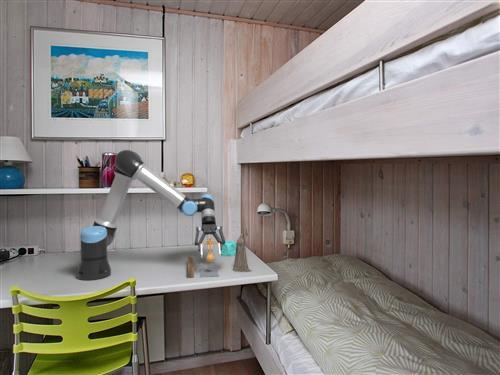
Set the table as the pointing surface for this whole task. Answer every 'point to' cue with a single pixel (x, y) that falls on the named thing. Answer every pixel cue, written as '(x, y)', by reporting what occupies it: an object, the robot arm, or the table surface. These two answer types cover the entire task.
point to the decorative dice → (228, 248)
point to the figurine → (210, 257)
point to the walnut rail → (190, 267)
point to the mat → (208, 273)
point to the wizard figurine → (241, 254)
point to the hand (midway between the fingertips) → (210, 255)
